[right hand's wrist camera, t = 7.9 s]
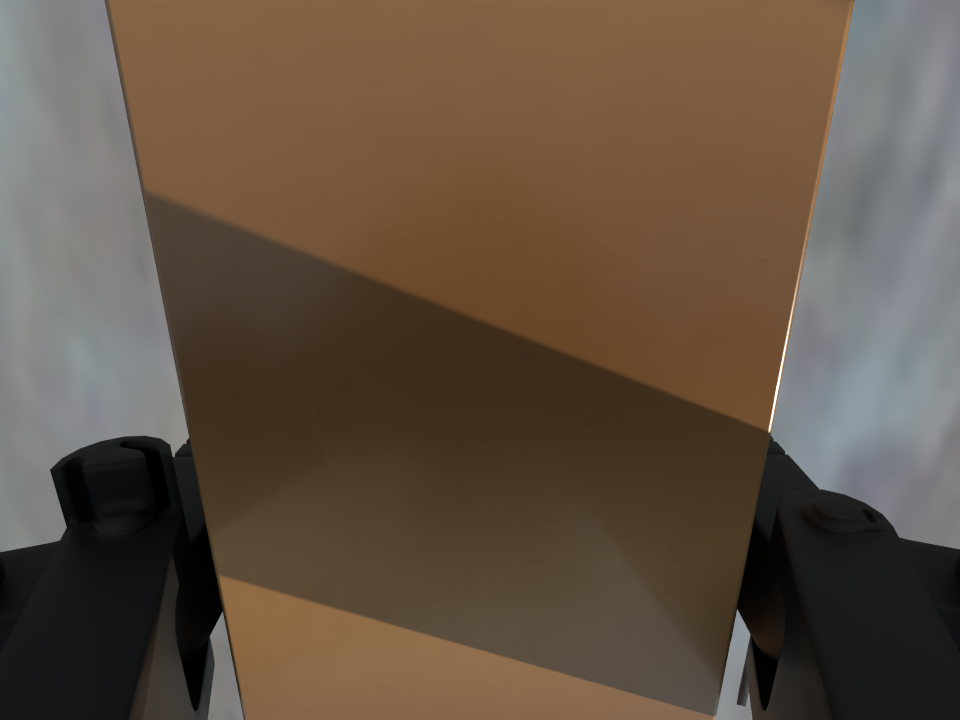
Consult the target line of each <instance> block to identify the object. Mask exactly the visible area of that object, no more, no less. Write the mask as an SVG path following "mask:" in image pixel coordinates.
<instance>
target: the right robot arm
mask: <svg viewBox="0 0 960 720" xmlns="http://www.w3.org/2000/svg"><path fill="white" fill-rule="evenodd" d="M50 471H51V475H52V478H53V481H54V485H55V488H56V492H57V495H58V499H59V502H60V505H61V509H62V512H63V516H64V519H65V522H66V526H67V528H66V530H65V532H64V534H63V536H62V538H61V540H60V541H57V542H53V543H48V544H42V545H37V546H32V547H26V548H21V549H16V550H11V551H5V552H0V720H207V719H208V711H209V704H210V696H211V688H212V680H213V673H214V665H215V662H214V656H213V650H212V645H211V640H210V635H211V633H212V631H213V629H214V627H215V625H216V623H217V621H218V619H219V617H220V615H221V613H222V611H223V609H222V603H221V598H220V593H219V588H218V583H217V578H216V572H215V567H214V562H213V557H212V552H211V547H210V541H209V536H208V531H207V526H206V521H205V516H204V510H203V505H202V500H201V495H200V490H199V485H198V479H197V474H196V469H195V464H194V459H193V454H192V448H191V443H190V438H189V439H188V440H187V444H183V445H182V447H181V448H180V449H179V450H178V451H177V452H176V453H175V457H172V452H171V447H170V445H169V444H168V443H166V442H165V441H163V440H162V439H160V438H154V437H149V436H129V437H120V438H115V439H110V440H105V441H101V442H98V443H95V444H92V445H89V446H86V447H83V448H81V449H79V450H77V451H75V452H73V453H71V454H69V455H68V456H66V457H64V458H62V459H61V460H60V461H59V462H58V463H57V464H56V465H55V466H54V467H52V468H51V469H50ZM737 609H738V611H739V613H740V615H741V617H742V619H743V621H744V622H745V624H746V626H747V628H748V630H749V632H750V634H751V635H750V640H749V645H748V650H747V654H746V659H745V664H744V669H743V674H742V678H741V683H740V688H739V693H738V700H737V705H742V706H746V702H747V697H748V693H749V694H750V702H751V710H752V718H753V720H960V549H954V548H949V547H944V546H938V545H933V544H928V543H922V542H917V541H912V540H907V539H903V538H899V537H898V535H897V533H896V531H895V529H894V527H893V526H892V525H891V524H890V522H889V521H888V520H887V519H886V518H885V517H884V516H883V514H881V513H880V512H878V511H877V510H875V509H873V508H872V507H870V506H869V505H867V504H866V503H864V502H861V501H859V500H856V499H854V498H851V497H849V496H847V495H844V494H839V493H835V492H831V491H826V490H820V489H819V488H818V487H817V486H816V485H815V484H814V483H813V482H812V481H811V480H810V478H809V477H808V476H807V475H806V474H805V473H804V472H803V471H802V470H801V469H800V467H799V466H798V465H797V464H796V463H795V462H794V461H793V460H792V459H791V457H790V456H789V455H785V451H784V450H783V449H782V448H781V446H780V445H779V444H778V443H777V442H773V438H772V437H771V435H770V439H769V444H768V450H767V455H766V460H765V465H764V470H763V475H762V481H761V486H760V491H759V496H758V501H757V507H756V512H755V517H754V522H753V527H752V532H751V538H750V543H749V548H748V553H747V558H746V563H745V569H744V574H743V579H742V584H741V589H740V595H739V600H738V605H737ZM736 612H737V610H736ZM735 617H736V615H735ZM734 622H735V620H734ZM733 627H734V626H733ZM732 632H733V631H732ZM227 635H228V634H227ZM731 638H732V636H731ZM730 642H731V641H730Z"/></svg>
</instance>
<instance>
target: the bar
mask: <svg viewBox="0 0 960 720" xmlns="http://www.w3.org/2000/svg"><path fill="white" fill-rule="evenodd" d="M105 4H106V9H107V14H108V19H109V25H110V30H111V35H112V40H113V45H114V50H115V56H116V61H117V66H118V71H119V76H120V82H121V87H122V92H123V97H124V102H125V107H126V113H127V118H128V123H129V128H130V133H131V138H132V144H133V149H134V154H135V159H136V164H137V169H138V175H139V180H140V185H141V190H142V195H143V200H144V206H145V211H146V216H147V221H148V226H149V231H150V237H151V242H152V247H153V252H154V257H155V262H156V268H157V273H158V278H159V283H160V288H161V293H162V299H163V304H164V309H165V314H166V319H167V324H168V330H169V335H170V340H171V345H172V350H173V355H174V361H175V366H176V371H177V376H178V381H179V386H180V392H181V397H182V402H183V407H184V412H185V417H186V423H187V428H188V433H189V438H190V443H191V448H192V454H193V459H194V464H195V469H196V474H197V479H198V485H199V490H200V495H201V500H202V505H203V510H204V516H205V521H206V526H207V531H208V536H209V541H210V547H211V552H212V557H213V562H214V567H215V572H216V578H217V583H218V588H219V593H220V598H221V603H222V609H223V614H224V619H225V624H226V629H227V634H228V640H229V645H230V650H231V655H232V660H233V665H234V671H235V676H236V681H237V686H238V691H239V696H240V702H241V707H242V712H243V717H244V720H715V719H716V714H717V708H718V703H719V698H720V693H721V688H722V683H723V677H724V672H725V667H726V662H727V657H728V651H729V646H730V641H731V636H732V631H733V626H734V620H735V615H736V610H737V605H738V600H739V595H740V589H741V584H742V579H743V574H744V569H745V563H746V558H747V553H748V548H749V543H750V538H751V532H752V527H753V522H754V517H755V512H756V507H757V501H758V496H759V491H760V486H761V481H762V475H763V470H764V465H765V460H766V455H767V450H768V444H769V439H770V434H771V429H772V424H773V418H774V413H775V408H776V403H777V398H778V393H779V387H780V382H781V377H782V372H783V367H784V362H785V356H786V351H787V346H788V341H789V336H790V330H791V325H792V320H793V315H794V310H795V305H796V299H797V294H798V289H799V284H800V279H801V274H802V268H803V263H804V258H805V253H806V248H807V242H808V237H809V232H810V227H811V222H812V217H813V211H814V206H815V201H816V196H817V191H818V186H819V180H820V175H821V170H822V165H823V160H824V154H825V149H826V144H827V139H828V134H829V129H830V123H831V118H832V113H833V108H834V103H835V98H836V92H837V87H838V82H839V77H840V72H841V66H842V61H843V56H844V51H845V46H846V41H847V35H848V30H849V25H850V20H851V15H852V10H853V4H854V0H105Z"/></svg>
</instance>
